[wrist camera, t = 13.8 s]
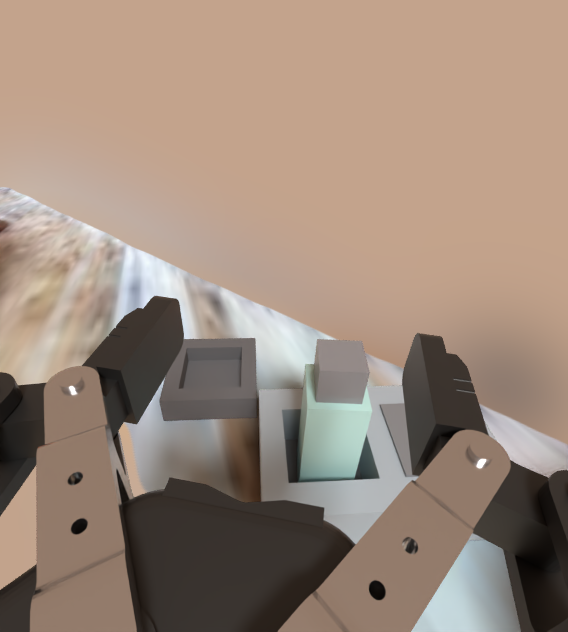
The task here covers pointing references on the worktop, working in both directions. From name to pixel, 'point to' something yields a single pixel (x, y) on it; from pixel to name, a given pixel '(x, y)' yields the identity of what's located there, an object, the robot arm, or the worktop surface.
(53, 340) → the worktop surface
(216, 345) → the grey square tray
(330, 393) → the plug
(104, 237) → the worktop surface
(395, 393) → the grey divided tray
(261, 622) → the robot arm
